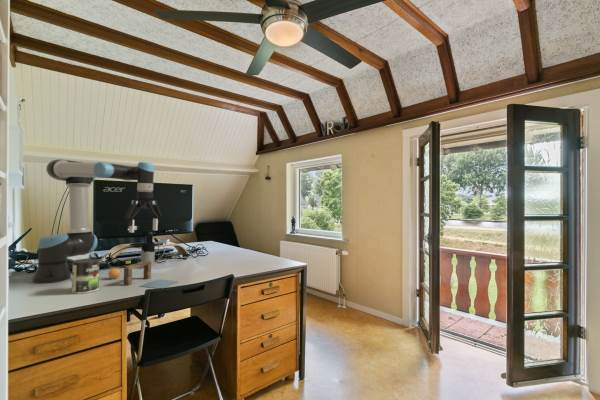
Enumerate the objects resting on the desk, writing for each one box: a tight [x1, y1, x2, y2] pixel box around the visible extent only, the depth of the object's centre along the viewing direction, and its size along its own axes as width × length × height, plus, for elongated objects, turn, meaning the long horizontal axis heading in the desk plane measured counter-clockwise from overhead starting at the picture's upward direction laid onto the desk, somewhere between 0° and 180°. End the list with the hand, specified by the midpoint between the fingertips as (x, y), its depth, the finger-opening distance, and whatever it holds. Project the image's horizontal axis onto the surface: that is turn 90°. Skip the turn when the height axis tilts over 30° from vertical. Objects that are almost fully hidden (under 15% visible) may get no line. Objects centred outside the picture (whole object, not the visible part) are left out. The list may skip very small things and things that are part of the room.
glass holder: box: [139, 242, 166, 270], centre depth 184 cm, size 9×14×15 cm, turn 115°
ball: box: [107, 267, 121, 280], centre depth 154 cm, size 6×6×6 cm
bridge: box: [123, 261, 152, 286], centre depth 149 cm, size 3×14×9 cm, turn 164°
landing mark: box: [139, 278, 179, 289], centre depth 146 cm, size 13×13×1 cm
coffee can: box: [71, 258, 100, 295], centre depth 133 cm, size 10×10×14 cm
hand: (143, 231), depth 150 cm, fingers open, 13 cm apart
